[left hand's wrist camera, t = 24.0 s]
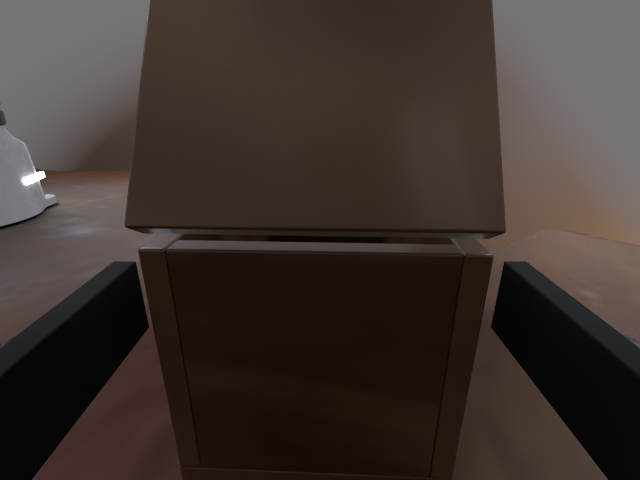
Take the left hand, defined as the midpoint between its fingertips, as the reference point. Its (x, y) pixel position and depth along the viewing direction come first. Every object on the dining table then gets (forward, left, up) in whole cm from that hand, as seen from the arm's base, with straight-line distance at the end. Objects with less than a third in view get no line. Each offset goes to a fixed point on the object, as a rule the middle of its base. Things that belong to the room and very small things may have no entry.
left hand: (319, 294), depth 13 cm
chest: (+4, -4, -6) cm, 9 cm away
